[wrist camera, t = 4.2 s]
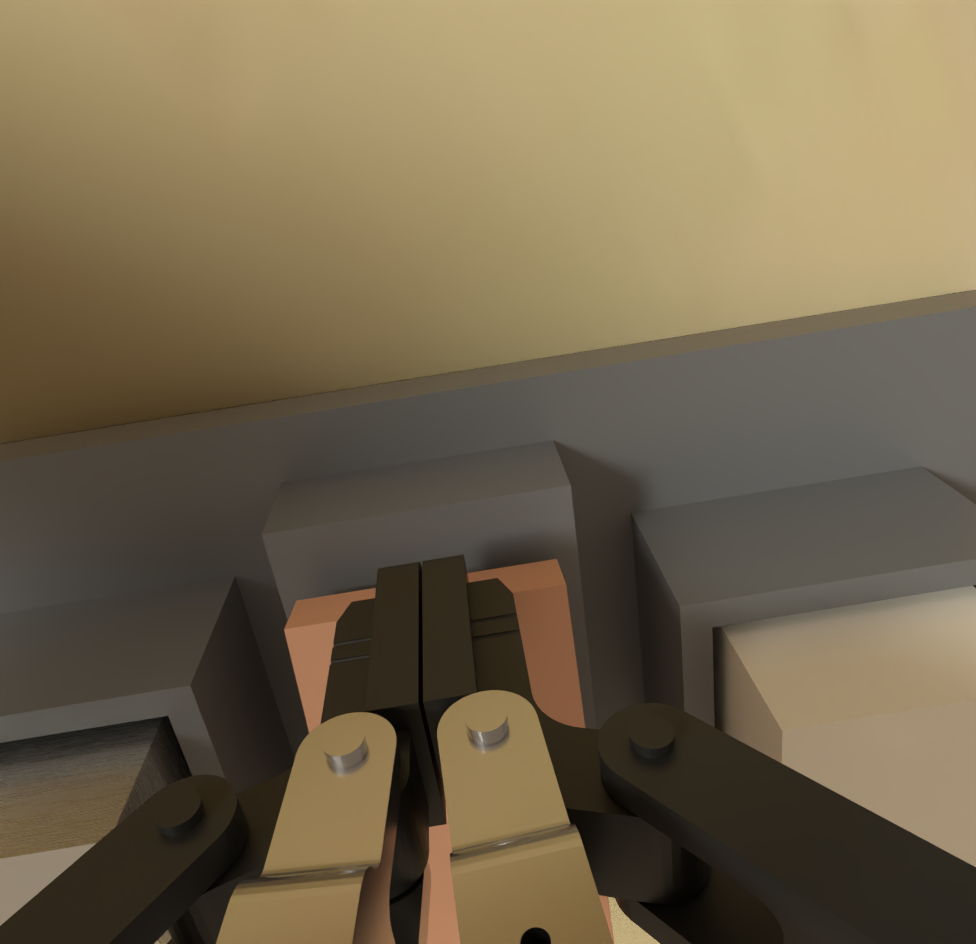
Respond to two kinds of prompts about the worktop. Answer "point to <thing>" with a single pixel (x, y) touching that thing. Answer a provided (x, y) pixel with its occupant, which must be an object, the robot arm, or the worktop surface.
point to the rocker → (548, 672)
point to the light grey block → (75, 797)
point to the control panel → (490, 518)
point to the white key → (865, 705)
